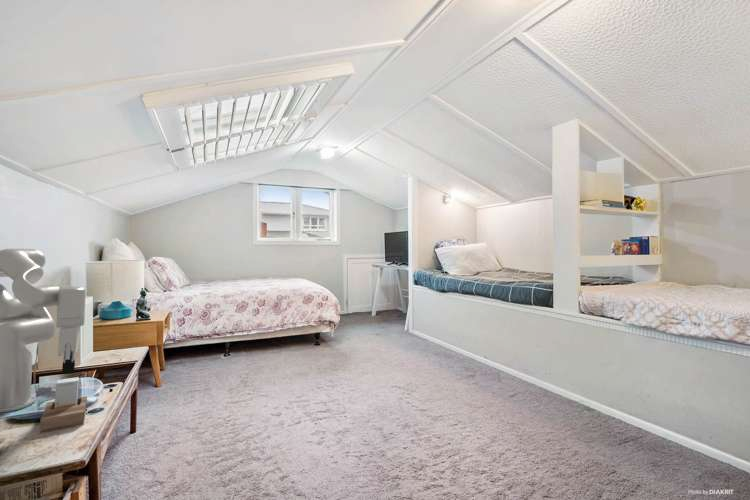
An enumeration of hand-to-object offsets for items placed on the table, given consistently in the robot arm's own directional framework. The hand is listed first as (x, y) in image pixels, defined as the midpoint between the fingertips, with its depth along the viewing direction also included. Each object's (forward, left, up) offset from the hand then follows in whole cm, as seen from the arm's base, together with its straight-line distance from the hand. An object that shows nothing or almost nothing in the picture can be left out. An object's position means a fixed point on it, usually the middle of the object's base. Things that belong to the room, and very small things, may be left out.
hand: (68, 372), depth 125 cm
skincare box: (0, 0, -15) cm, 15 cm away
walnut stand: (+2, -2, -16) cm, 16 cm away
